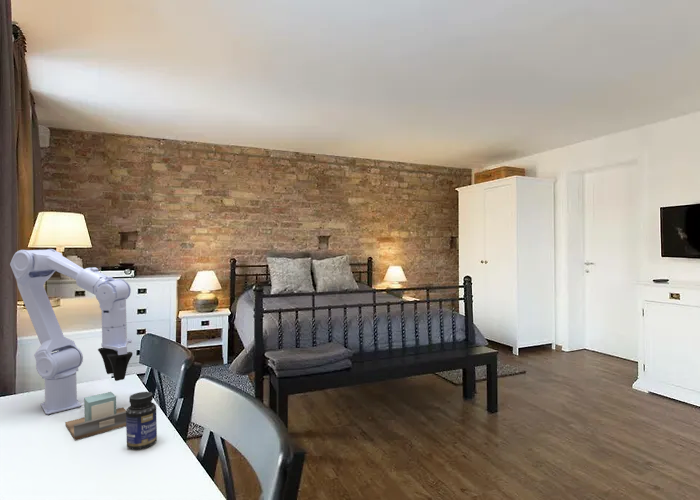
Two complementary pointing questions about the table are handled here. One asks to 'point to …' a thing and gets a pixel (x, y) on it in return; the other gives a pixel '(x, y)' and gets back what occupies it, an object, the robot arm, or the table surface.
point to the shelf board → (96, 424)
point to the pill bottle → (141, 421)
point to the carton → (99, 406)
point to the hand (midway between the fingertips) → (115, 376)
